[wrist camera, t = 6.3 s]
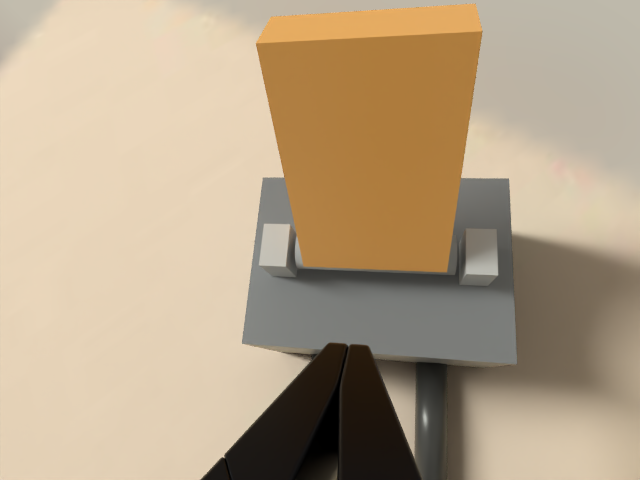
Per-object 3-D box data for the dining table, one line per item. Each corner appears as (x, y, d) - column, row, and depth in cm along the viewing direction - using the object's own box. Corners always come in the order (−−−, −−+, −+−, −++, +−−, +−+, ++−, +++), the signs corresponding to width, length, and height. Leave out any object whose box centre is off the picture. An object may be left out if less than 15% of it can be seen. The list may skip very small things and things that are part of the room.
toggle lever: (453, 285, 16) (497, 30, 9) (298, 278, 17) (243, 43, 10) (451, 251, 17) (489, 2, 10) (305, 246, 18) (260, 17, 11)
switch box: (488, 516, 19) (544, 602, 12) (266, 486, 21) (196, 544, 14) (481, 227, 23) (521, 156, 16) (293, 223, 25) (250, 158, 17)
